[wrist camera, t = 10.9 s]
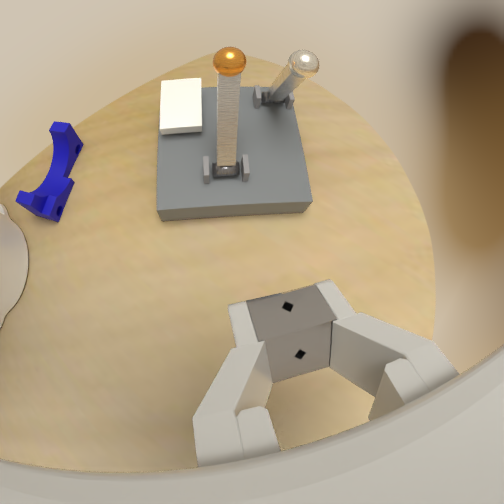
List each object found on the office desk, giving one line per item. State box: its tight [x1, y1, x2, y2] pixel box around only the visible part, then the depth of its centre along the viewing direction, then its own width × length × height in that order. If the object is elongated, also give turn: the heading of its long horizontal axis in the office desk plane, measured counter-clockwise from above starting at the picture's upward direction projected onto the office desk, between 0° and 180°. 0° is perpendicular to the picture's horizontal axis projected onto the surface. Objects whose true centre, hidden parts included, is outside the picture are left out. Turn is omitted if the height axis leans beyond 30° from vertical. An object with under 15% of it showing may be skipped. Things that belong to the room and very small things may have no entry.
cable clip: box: [16, 122, 83, 222], centre depth 33 cm, size 12×4×6 cm, turn 166°
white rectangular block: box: [160, 78, 202, 135], centre depth 33 cm, size 5×7×2 cm
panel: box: [157, 85, 313, 221], centre depth 36 cm, size 18×18×6 cm
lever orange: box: [212, 47, 246, 177], centre depth 28 cm, size 3×3×15 cm
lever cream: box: [261, 50, 319, 103], centre depth 30 cm, size 3×3×15 cm
